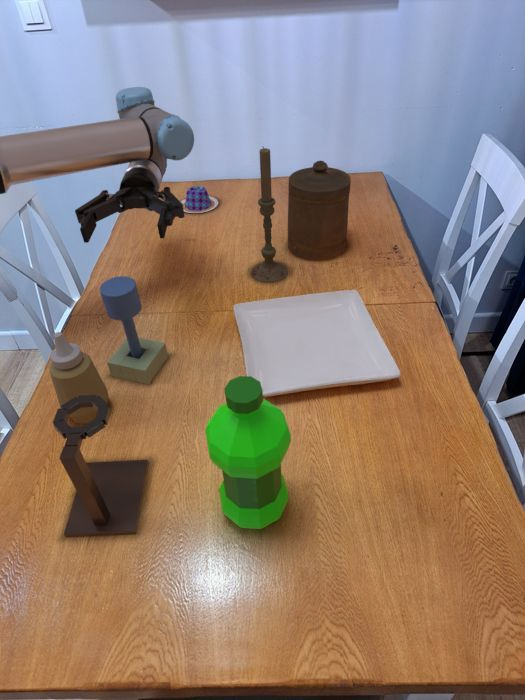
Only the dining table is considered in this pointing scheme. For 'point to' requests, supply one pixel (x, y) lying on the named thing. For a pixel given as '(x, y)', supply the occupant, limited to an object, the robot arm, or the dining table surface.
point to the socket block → (138, 361)
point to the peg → (123, 307)
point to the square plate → (312, 343)
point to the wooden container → (318, 212)
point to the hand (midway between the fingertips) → (122, 233)
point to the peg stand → (98, 478)
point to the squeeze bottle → (75, 377)
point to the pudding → (198, 199)
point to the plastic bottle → (249, 454)
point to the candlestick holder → (267, 227)
